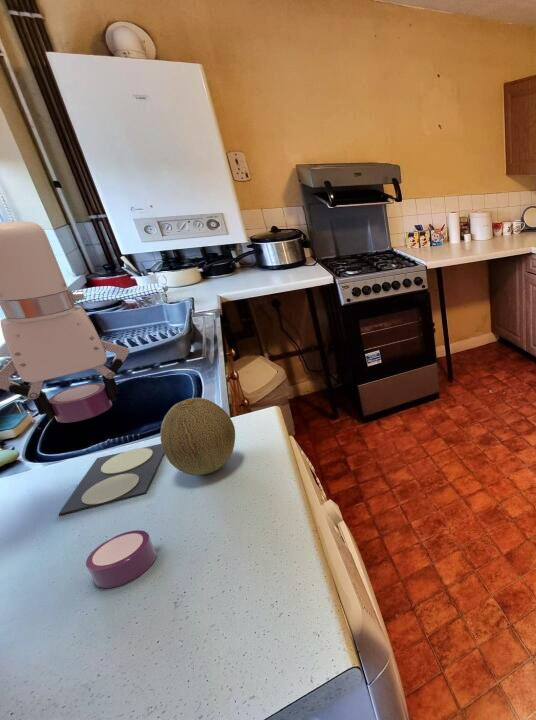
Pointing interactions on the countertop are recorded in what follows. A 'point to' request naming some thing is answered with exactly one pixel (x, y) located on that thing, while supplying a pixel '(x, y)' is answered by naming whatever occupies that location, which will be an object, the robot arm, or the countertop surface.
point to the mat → (116, 478)
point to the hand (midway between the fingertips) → (83, 406)
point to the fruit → (197, 436)
